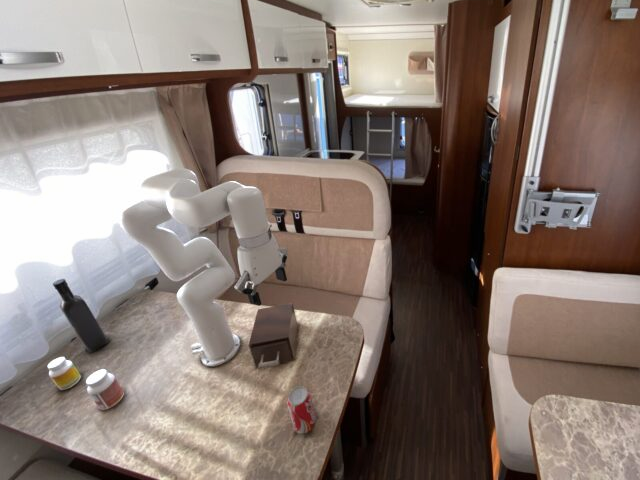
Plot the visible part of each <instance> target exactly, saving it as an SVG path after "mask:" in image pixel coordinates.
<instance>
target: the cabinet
mask: <svg viewBox="0 0 640 480" xmlns="http://www.w3.org/2000/svg"><path fill="white" fill-rule="evenodd" d="M256 311H257V312H256V314H255V318H254V323H253V327H252V330H251V333H250V338H249V342H248V347H249V350H250V349H251V347H252V346H255V345H260V344H265V343H270V342H275V341H280V340H285V339H287V340H288V344H289V348H290V352H291V356H292V361H293V360H295V356H296V355H295V354H296V347H297V336H298V335H297V334H298V324H299V323H298V320H297V316H296V311H295V307H294V303H293V302H291V303H286V304H279V305H276V306H269V307H263V308H258V309H257V310H256ZM250 353H251V350H250ZM251 356H252V353H251ZM252 360H253V363H254V366H255V367H256V365H255V362H254V359H253V356H252Z"/></svg>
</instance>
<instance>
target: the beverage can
mask: <svg viewBox="0 0 640 480" xmlns="http://www.w3.org/2000/svg"><path fill="white" fill-rule="evenodd" d="M286 406H287V409H288V413H289V416H290V419H291V422H292V427H293V429H294V431H295V432H296V433H298V434H301V435H302V434H306V433H308V432H310V431H311V430H312V429H313V428H314V427H315V424H316V422H317V415H316V411H315V406H314V402H313V398H312V393H311V391H310V390H309V389H308V388H307V387H305V386H303V385H297V386H296V387H294V388H292V390H290V392H289V394H288V397H287V400H286Z"/></svg>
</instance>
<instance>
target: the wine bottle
mask: <svg viewBox="0 0 640 480" xmlns="http://www.w3.org/2000/svg"><path fill="white" fill-rule="evenodd" d="M52 286H53V287H54V289H55V290H56V291H57V293H58V294H59V296H60V298H61V300H62V301H61V302H60V304H59V307H60V308H59V309H60V310H61V311H62V313H63V315H64V317H65V318H66V319H67V321H68V323H69V324H70V326H71V327H72V329H73V331H74V332H75V333H76V336H77V337H78V338H79V340H80V341H81V343H82V344H83V346H84V348H85V349H86V350H87V351H88V352H89V353H93V352H96V351H97V350H99V349H100V348H102V347H104V346H105V345H107V344H108V343H109V340H108V338H107V336H106V334H105V333H104V331H103V329H102V326H100V323H99V322H98V320H97V319H96V318H95V316H94V313H93V312H92V310H91V309H90V307H89V306H88V304H87V302H86V300H84V298H83V297H82V296H81V295H77V294H74V293H73V292H72V290H71V288H70V287H69V285H68V282H67V281H66V279H65V278H61V279H57V280H55V281H54V282H52Z"/></svg>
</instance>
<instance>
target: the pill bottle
mask: <svg viewBox="0 0 640 480" xmlns="http://www.w3.org/2000/svg"><path fill="white" fill-rule="evenodd" d="M85 383H86V386H87V390H86V391H87V393H88V395H89V396H90V398H91V399H92V401H94V403H95V404H96V406H97V407H98V409H99V410H103V411H105V410H109V409H111V408H113V407H115V406H116V405H117V404H118V403H120V401H122V399H123V397H124V395H125V391H124V389H123V388H122V386H121V384H120V382H118V380H117V378H116V376H115V375H114V374H113V373H110V372H108V370H106V369H104V368H102V369H99V370H96V371H94V372H92V373H91V374H90V375H89V376H88V377H87V379H86V381H85Z"/></svg>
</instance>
